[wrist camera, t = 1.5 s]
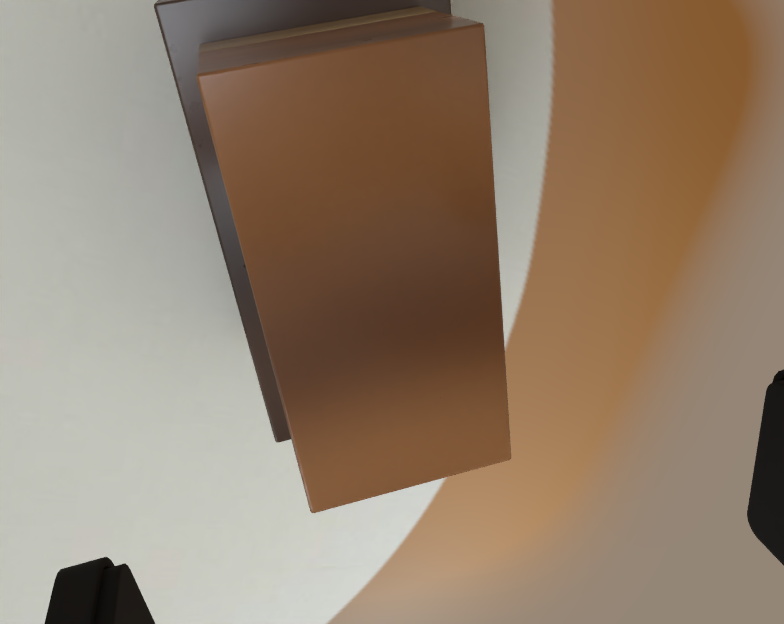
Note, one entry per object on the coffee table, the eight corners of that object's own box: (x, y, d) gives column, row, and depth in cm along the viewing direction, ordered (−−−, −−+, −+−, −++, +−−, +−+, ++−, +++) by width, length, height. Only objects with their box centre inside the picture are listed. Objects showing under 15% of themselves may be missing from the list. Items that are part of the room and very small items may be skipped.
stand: (168, -13, 22) (152, 3, 16) (383, -47, 23) (447, -45, 17) (261, 337, 28) (275, 443, 22) (426, 298, 29) (483, 390, 23)
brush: (198, 44, 16) (194, 74, 12) (422, 5, 17) (485, 22, 13) (292, 413, 22) (311, 514, 18) (459, 371, 22) (512, 459, 19)
